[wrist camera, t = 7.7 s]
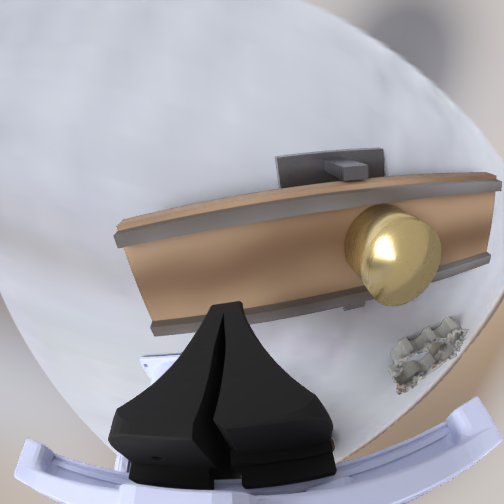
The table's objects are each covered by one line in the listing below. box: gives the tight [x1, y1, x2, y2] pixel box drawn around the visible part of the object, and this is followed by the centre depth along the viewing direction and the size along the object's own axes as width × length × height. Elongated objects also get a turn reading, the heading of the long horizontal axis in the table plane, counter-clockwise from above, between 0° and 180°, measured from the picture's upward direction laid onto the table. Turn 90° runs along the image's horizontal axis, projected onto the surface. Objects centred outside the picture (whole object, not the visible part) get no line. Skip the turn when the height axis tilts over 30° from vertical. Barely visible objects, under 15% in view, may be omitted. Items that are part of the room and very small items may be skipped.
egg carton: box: [388, 317, 469, 395], centre depth 26 cm, size 11×8×4 cm
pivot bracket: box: [275, 148, 384, 311], centre depth 18 cm, size 11×8×4 cm
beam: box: [113, 172, 502, 336], centre depth 16 cm, size 8×28×2 cm, turn 99°
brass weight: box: [344, 203, 441, 306], centre depth 14 cm, size 5×5×4 cm
